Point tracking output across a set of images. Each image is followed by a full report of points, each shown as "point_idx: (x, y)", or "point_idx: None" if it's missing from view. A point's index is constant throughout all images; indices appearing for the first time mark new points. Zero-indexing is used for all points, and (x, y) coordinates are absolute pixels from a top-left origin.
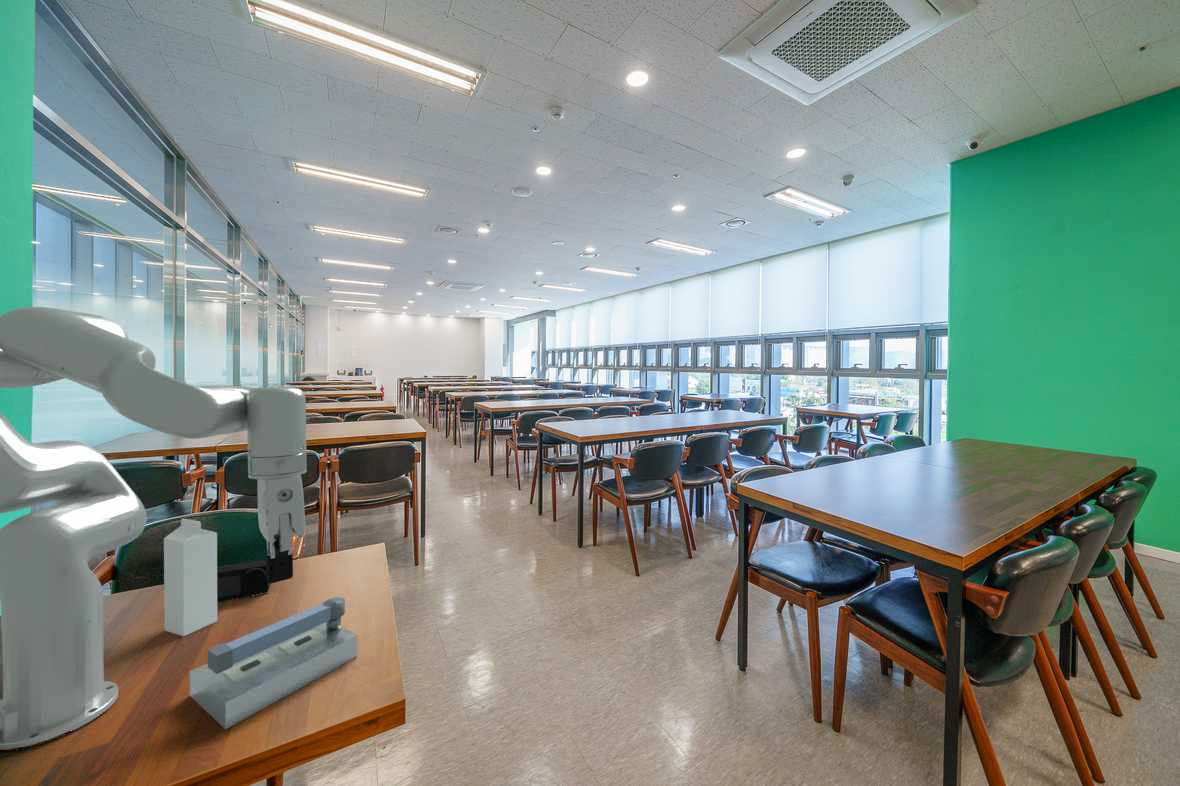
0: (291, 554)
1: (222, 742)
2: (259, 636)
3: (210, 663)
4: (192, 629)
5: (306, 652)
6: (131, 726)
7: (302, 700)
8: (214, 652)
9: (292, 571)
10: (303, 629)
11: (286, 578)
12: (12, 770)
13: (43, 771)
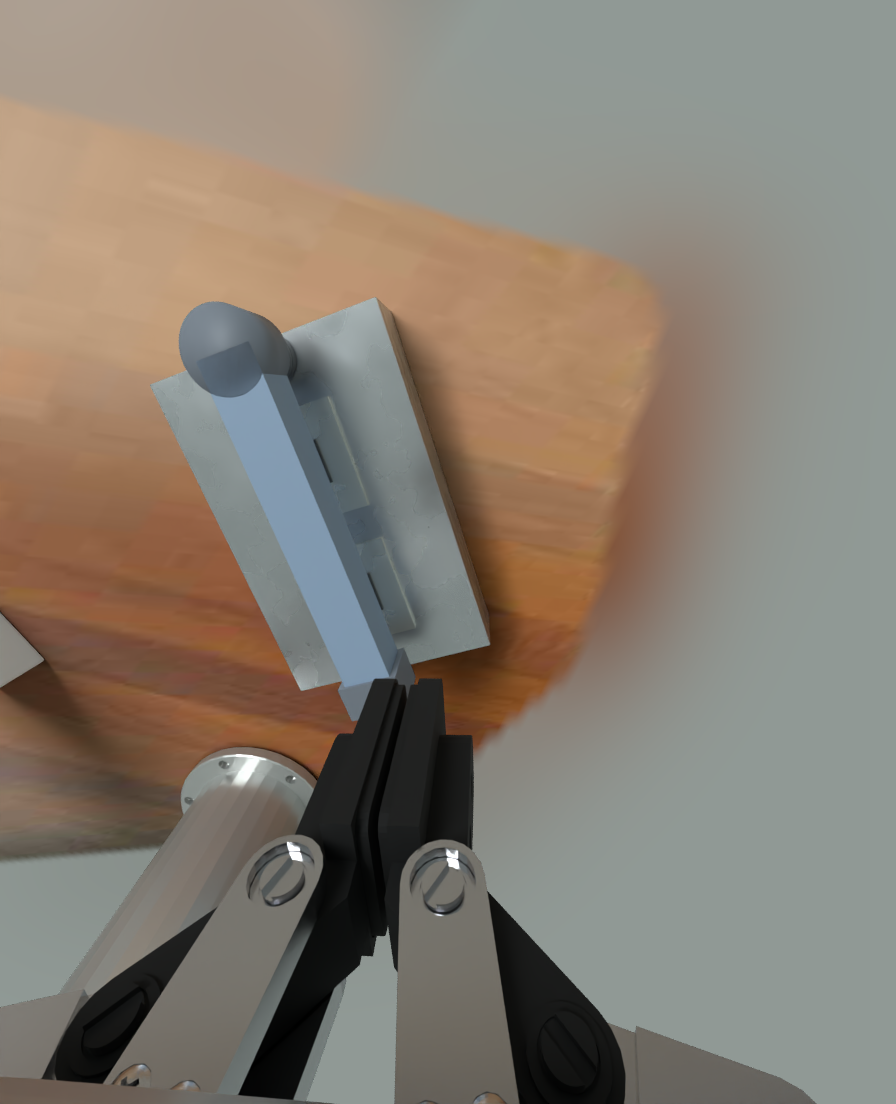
0: (467, 847)
1: (525, 621)
2: (357, 612)
3: None
4: (23, 649)
5: (383, 464)
6: None
7: (499, 480)
8: None
9: (435, 702)
10: (323, 474)
11: (443, 707)
12: None
13: None
